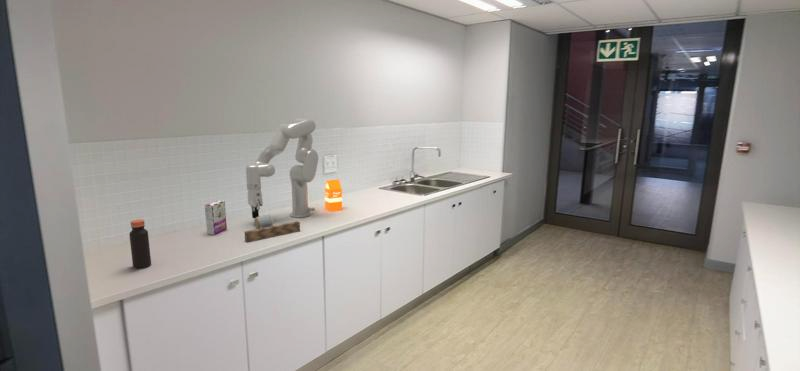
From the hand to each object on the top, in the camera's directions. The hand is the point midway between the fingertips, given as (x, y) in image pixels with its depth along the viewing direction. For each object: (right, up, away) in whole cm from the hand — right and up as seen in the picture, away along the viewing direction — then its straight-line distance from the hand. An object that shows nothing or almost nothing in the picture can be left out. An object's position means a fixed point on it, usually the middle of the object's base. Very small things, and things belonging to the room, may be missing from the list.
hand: (255, 217), depth 248 cm
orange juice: (+39, +2, +38) cm, 54 cm away
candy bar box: (-16, -7, -14) cm, 22 cm away
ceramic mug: (+8, -6, -8) cm, 13 cm away
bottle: (-28, -16, -63) cm, 70 cm away
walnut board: (+16, -8, -19) cm, 26 cm away
